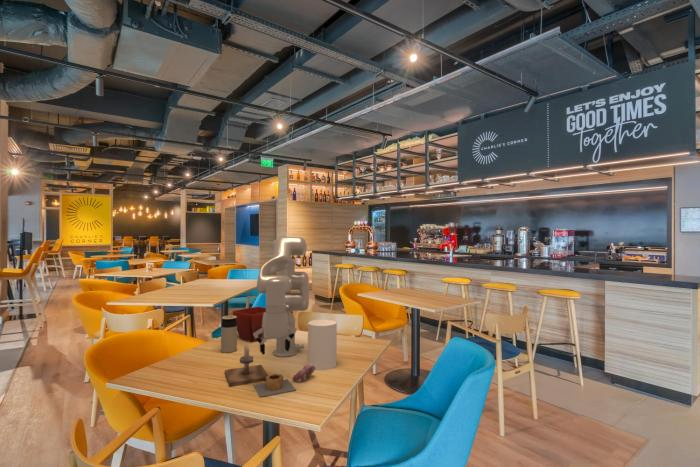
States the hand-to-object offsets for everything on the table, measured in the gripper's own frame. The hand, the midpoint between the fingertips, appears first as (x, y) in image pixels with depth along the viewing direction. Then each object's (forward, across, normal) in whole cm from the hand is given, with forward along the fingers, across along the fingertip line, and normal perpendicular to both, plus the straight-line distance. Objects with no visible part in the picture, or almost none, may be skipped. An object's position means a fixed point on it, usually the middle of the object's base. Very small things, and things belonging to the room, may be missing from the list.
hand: (275, 351), depth 142 cm
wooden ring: (+14, 0, +1) cm, 14 cm away
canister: (+15, -27, -16) cm, 35 cm away
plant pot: (+16, -7, -76) cm, 78 cm away
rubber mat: (+14, 0, +1) cm, 14 cm away
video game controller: (+15, -14, -3) cm, 20 cm away
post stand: (+14, +8, -16) cm, 23 cm away
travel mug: (+16, +10, -57) cm, 60 cm away
